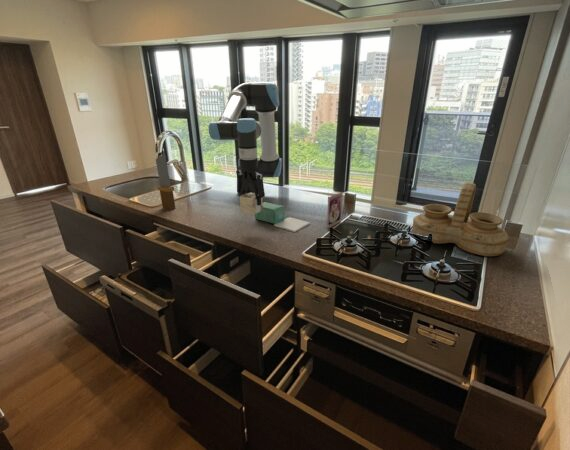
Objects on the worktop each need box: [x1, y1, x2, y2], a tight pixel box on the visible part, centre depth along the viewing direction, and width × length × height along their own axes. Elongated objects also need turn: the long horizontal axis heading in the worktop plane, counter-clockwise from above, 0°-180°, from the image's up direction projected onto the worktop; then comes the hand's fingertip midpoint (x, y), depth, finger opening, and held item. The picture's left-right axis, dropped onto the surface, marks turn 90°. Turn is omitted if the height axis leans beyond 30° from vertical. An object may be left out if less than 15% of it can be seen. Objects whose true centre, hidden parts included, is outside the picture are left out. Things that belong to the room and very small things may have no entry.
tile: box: [273, 217, 311, 233], centre depth 140 cm, size 12×12×1 cm
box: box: [254, 201, 286, 225], centre depth 144 cm, size 7×14×8 cm, turn 50°
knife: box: [155, 153, 176, 211], centre depth 158 cm, size 8×4×30 cm, turn 62°
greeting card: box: [326, 190, 344, 229], centre depth 139 cm, size 11×7×15 cm, turn 137°
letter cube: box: [238, 192, 263, 216], centre depth 131 cm, size 7×7×7 cm
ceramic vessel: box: [411, 181, 509, 257], centre depth 117 cm, size 34×18×25 cm, turn 51°
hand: (251, 209), depth 132 cm, fingers closed on letter cube, 7 cm apart
